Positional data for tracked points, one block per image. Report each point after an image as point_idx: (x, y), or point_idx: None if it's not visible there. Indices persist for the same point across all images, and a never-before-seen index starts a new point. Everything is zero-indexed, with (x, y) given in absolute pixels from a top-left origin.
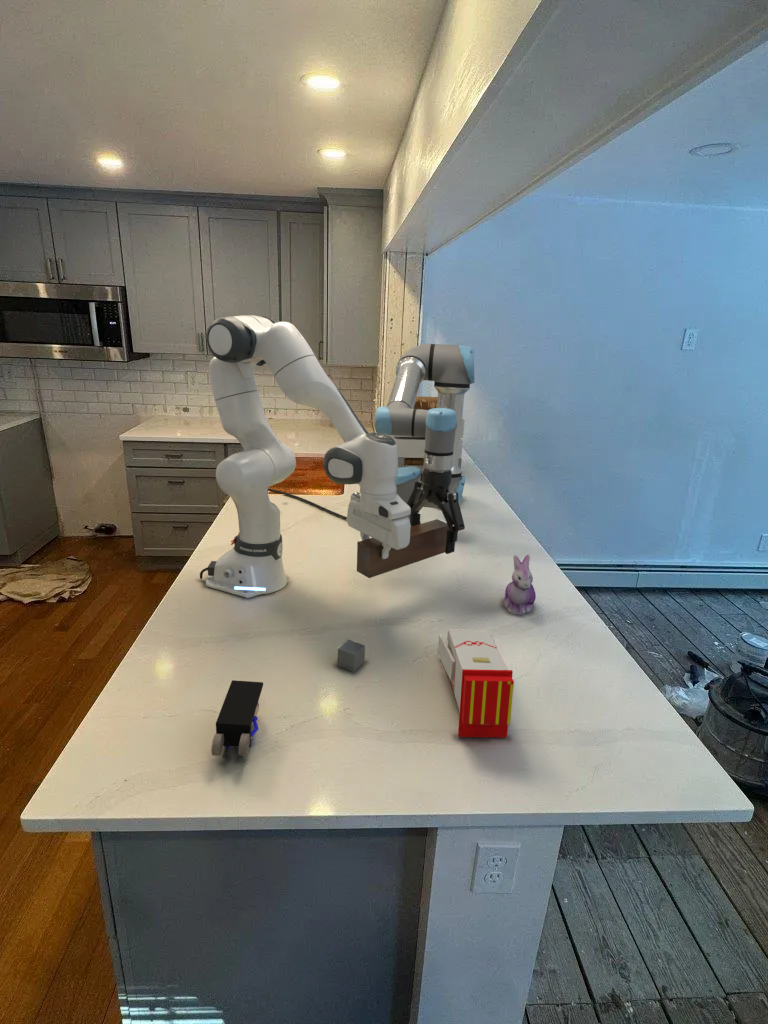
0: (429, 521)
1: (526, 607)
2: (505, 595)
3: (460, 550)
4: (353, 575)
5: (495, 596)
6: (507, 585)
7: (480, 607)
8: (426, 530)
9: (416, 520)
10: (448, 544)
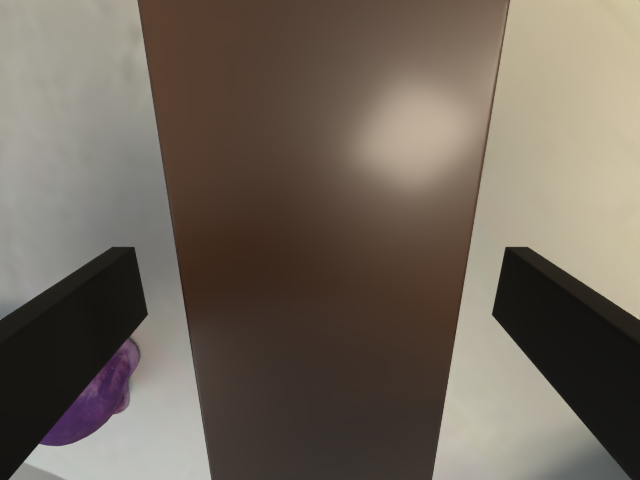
0: (433, 447)
1: None
2: (117, 352)
3: (458, 469)
4: (637, 32)
5: (174, 343)
6: (100, 383)
7: (140, 258)
8: (202, 201)
9: (606, 382)
10: (58, 289)
